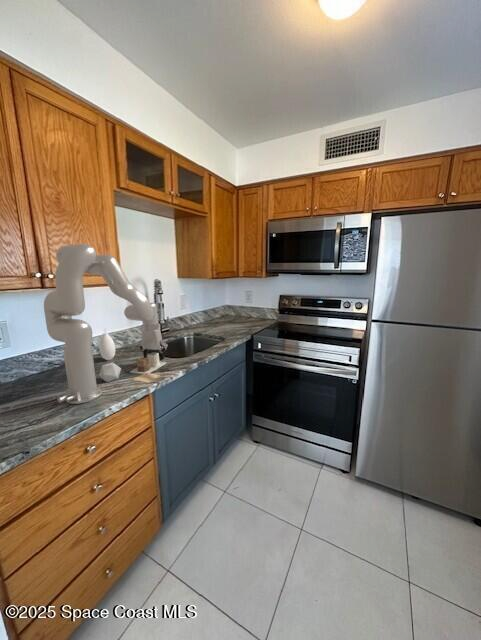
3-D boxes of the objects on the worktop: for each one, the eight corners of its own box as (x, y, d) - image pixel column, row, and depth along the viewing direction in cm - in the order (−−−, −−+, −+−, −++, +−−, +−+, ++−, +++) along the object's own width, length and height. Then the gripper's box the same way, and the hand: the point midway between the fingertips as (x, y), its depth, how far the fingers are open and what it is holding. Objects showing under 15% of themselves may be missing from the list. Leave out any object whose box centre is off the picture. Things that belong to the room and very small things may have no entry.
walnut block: (144, 372, 129) (143, 360, 128) (137, 371, 130) (136, 359, 129) (149, 369, 133) (148, 358, 132) (143, 368, 134) (142, 357, 133)
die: (121, 383, 120) (125, 362, 124) (102, 379, 114) (107, 358, 118) (112, 385, 125) (117, 365, 129) (93, 382, 119) (99, 361, 123)
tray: (147, 375, 126) (147, 373, 126) (130, 373, 130) (130, 371, 129) (166, 364, 141) (166, 362, 141) (150, 362, 144) (150, 360, 144)
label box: (154, 366, 137) (153, 355, 135) (148, 365, 138) (147, 354, 137) (159, 363, 140) (158, 352, 139) (153, 363, 141) (152, 352, 140)
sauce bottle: (118, 359, 150) (115, 328, 146) (104, 363, 144) (100, 331, 141) (112, 356, 155) (109, 326, 152) (98, 360, 149) (94, 329, 146)
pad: (148, 383, 117) (148, 382, 117) (132, 381, 120) (131, 380, 120) (160, 375, 126) (160, 374, 126) (144, 373, 129) (144, 372, 128)
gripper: (131, 327, 134) (135, 359, 138) (161, 329, 129) (164, 362, 133) (141, 324, 141) (145, 355, 145) (169, 326, 136) (172, 357, 140)
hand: (154, 358), depth 139 cm, fingers open, 9 cm apart
